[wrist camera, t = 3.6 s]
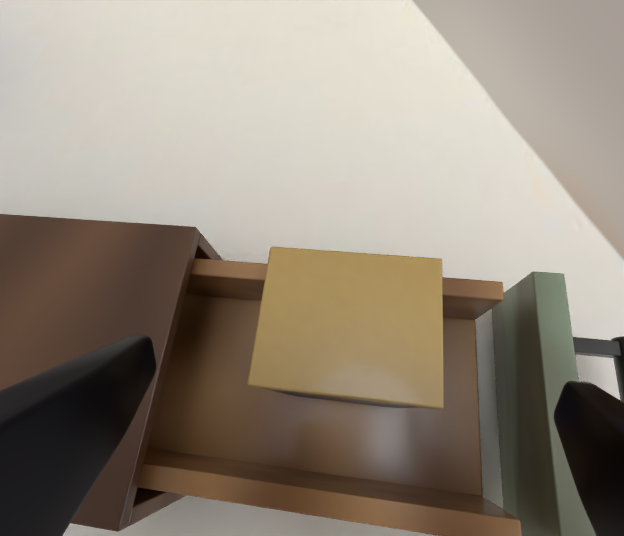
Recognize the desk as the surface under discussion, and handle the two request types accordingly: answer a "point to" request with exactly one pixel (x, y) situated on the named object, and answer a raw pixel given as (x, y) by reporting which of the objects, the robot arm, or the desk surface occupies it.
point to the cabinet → (96, 323)
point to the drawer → (376, 418)
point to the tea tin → (351, 328)
